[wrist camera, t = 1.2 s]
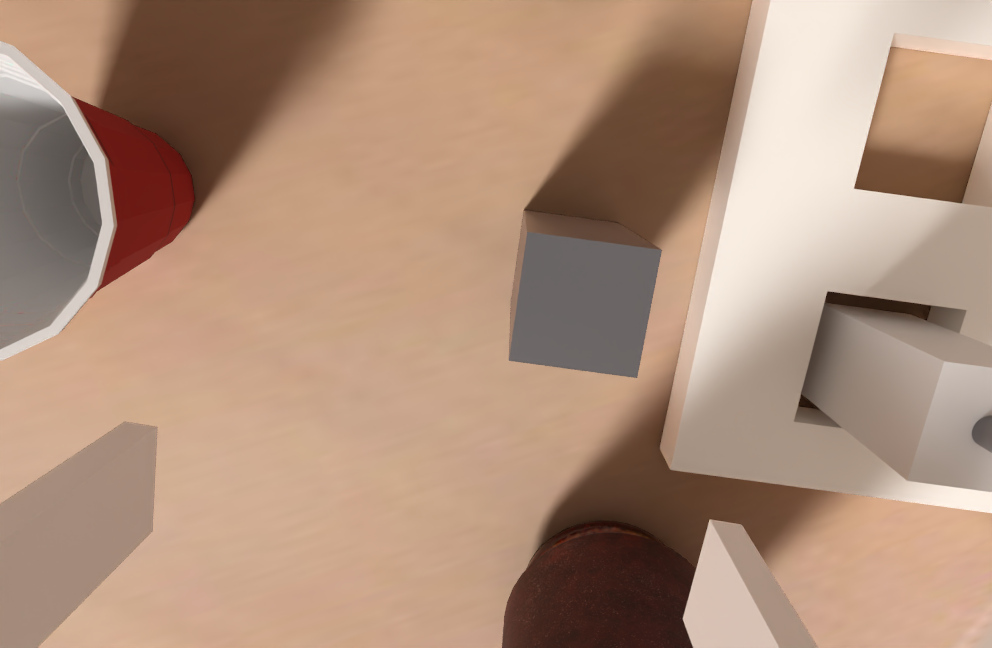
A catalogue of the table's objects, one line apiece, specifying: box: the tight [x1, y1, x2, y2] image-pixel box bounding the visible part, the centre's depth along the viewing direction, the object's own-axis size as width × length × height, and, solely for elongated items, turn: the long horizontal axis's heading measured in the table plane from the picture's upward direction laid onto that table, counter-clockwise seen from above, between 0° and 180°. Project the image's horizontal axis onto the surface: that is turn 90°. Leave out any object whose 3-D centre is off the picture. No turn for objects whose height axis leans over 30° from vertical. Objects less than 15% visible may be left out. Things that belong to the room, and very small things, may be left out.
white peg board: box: [660, 0, 992, 513], centre depth 26 cm, size 24×17×12 cm
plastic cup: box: [0, 41, 195, 360], centre depth 27 cm, size 11×11×12 cm
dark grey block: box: [509, 210, 662, 378], centre depth 28 cm, size 5×5×10 cm
